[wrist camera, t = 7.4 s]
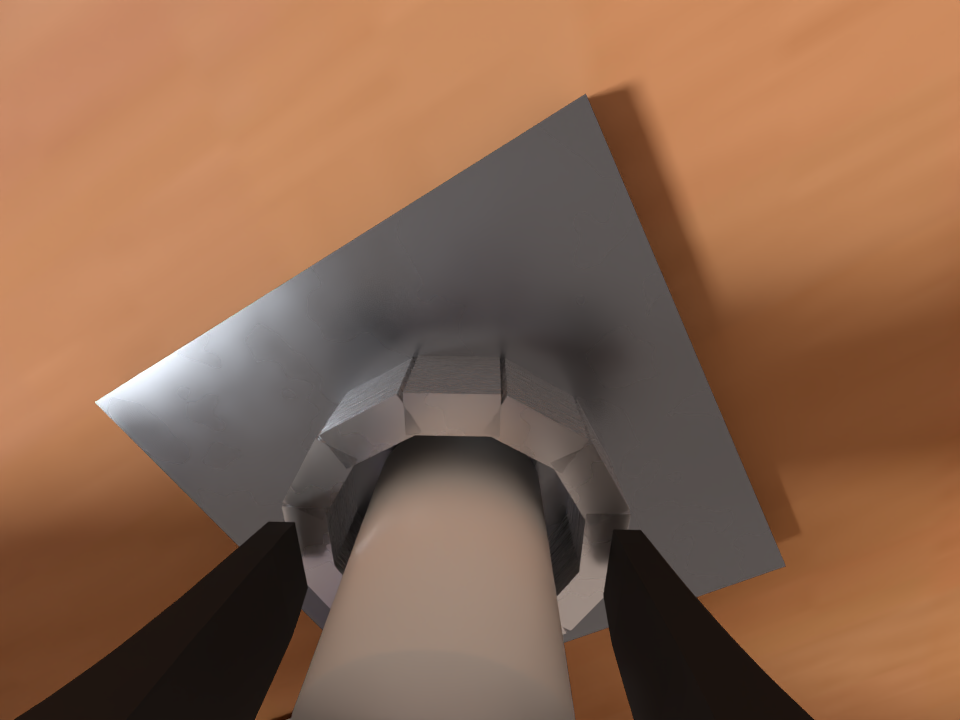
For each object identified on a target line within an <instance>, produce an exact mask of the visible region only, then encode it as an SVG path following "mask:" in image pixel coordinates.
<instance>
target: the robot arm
mask: <svg viewBox="0 0 960 720" xmlns="http://www.w3.org/2000/svg"><path fill="white" fill-rule="evenodd" d="M307 589H308V585H307V580H306V575H305V570H304V565H303V560H302V555H301V550H300V545H299V540H298V535H297V530H296V525H295V522H271V521H269V522H267V523H266V524H265V525H264V526H263V527H261V528H260V529H259V530H258V531H257V532H256V533H254V534H253V535H252V536H251V537H250V538H249V539H248V540H246V541H245V542H244V543H243V544H242V545H241V546H240V547H238V548H237V549H236V550H235V551H234V552H233V553H232V554H231V555H229V556H228V557H227V558H226V559H225V560H224V561H223V562H221V563H220V564H219V565H218V566H217V567H216V568H215V569H213V570H212V571H211V572H210V573H209V574H208V575H206V576H205V577H204V578H203V579H202V580H201V581H199V582H198V583H197V584H196V585H195V586H194V587H192V588H191V589H190V590H189V591H188V592H187V593H185V594H184V595H183V596H182V597H181V598H179V599H178V600H177V601H176V602H174V603H173V604H172V605H171V606H169V607H168V608H167V609H166V610H164V611H163V612H162V613H161V614H159V615H158V616H157V617H156V618H154V619H153V620H152V621H151V622H149V623H148V624H147V625H146V626H144V627H143V628H142V629H141V630H139V631H138V632H137V633H136V634H134V635H133V636H132V637H131V638H129V639H128V640H127V641H126V642H124V643H123V644H122V645H120V646H119V647H118V648H116V649H115V650H114V651H112V652H111V653H110V654H108V655H107V656H106V657H104V658H103V659H102V660H100V661H99V662H98V663H96V664H95V665H93V666H92V667H91V668H89V669H88V670H86V671H85V672H84V673H82V674H81V675H79V676H78V677H77V678H75V679H74V680H72V681H71V682H69V683H68V684H67V685H65V686H64V687H62V688H61V689H60V690H58V691H57V692H55V693H54V694H52V695H51V696H49V697H48V698H46V699H45V700H44V701H42V702H41V703H39V704H37V705H36V706H34V707H33V708H31V709H30V710H28V711H27V712H25V713H24V714H22V715H20V716H19V717H17V718H16V719H14V720H255V718H256V715H257V713H258V711H259V709H260V707H261V704H262V702H263V700H264V698H265V696H266V693H267V691H268V689H269V687H270V685H271V682H272V680H273V678H274V676H275V674H276V671H277V669H278V667H279V665H280V663H281V660H282V658H283V656H284V654H285V651H286V649H287V647H288V645H289V642H290V640H291V638H292V635H293V632H294V629H295V627H296V624H297V621H298V618H299V615H300V612H301V608H302V605H303V602H304V599H305V596H306V592H307ZM603 597H604V603H605V609H606V614H607V620H608V626H609V631H610V636H611V641H612V646H613V649H614V653H615V657H616V660H617V664H618V667H619V670H620V674H621V677H622V681H623V684H624V688H625V691H626V695H627V698H628V701H629V705H630V708H631V712H632V715H633V718H634V720H814V719H813V718H812V717H811V716H810V715H809V714H808V713H807V712H806V711H805V710H803V709H802V708H801V707H800V706H799V705H798V704H797V703H796V702H795V701H794V700H793V699H792V698H791V697H790V696H789V695H788V694H787V693H786V692H785V691H784V690H782V689H781V688H780V687H779V686H778V685H777V684H776V683H775V682H774V681H773V680H772V679H771V678H770V677H769V676H768V675H767V674H766V673H765V672H764V671H763V670H762V669H761V668H760V666H759V665H758V664H757V663H756V662H755V661H754V660H753V659H752V658H751V657H750V656H749V655H748V654H747V653H746V652H745V651H744V650H743V649H742V648H741V647H740V646H739V644H738V643H737V642H736V641H735V640H734V639H733V638H732V637H731V636H730V635H729V634H728V633H727V631H726V630H725V629H724V628H723V627H722V626H721V625H720V624H719V623H718V622H717V620H716V619H715V618H714V617H713V616H712V615H711V614H710V612H709V611H708V610H707V609H706V608H705V607H704V606H703V604H702V603H701V602H700V601H699V600H698V599H697V598H696V596H695V595H694V594H693V593H692V592H691V591H690V589H689V588H688V587H687V586H686V585H685V583H684V582H683V581H682V580H681V579H680V577H679V576H678V575H677V574H676V572H675V571H674V570H673V569H672V568H671V566H670V565H669V564H668V563H667V561H666V560H665V559H664V558H663V556H662V555H661V554H660V553H659V551H658V550H657V549H656V548H655V546H654V545H653V544H652V543H651V541H650V540H649V539H648V538H647V536H646V535H645V534H644V533H643V532H642V531H641V530H622V529H613V534H612V540H611V547H610V554H609V560H608V567H607V573H606V580H605V587H604V593H603ZM287 720H291V718H289V719H287Z"/></svg>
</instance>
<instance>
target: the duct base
mask: <svg viewBox="0 0 960 720" xmlns="http://www.w3.org/2000/svg"><path fill="white" fill-rule="evenodd" d="M95 403H96V404H97V405H98V406H99V407H100V408H101V409H102V410H103V411H104V412H105V413H106V414H107V415H108V416H109V417H110V418H111V419H112V420H113V421H114V422H115V423H116V424H117V425H118V426H119V427H120V428H121V429H122V430H123V431H124V432H125V433H126V434H127V435H128V436H129V437H130V438H131V439H132V440H133V441H134V442H135V443H136V444H137V445H138V446H139V447H140V448H141V449H142V450H143V451H144V452H145V453H146V454H147V455H148V456H149V457H150V458H151V459H152V460H153V461H154V462H155V463H156V464H157V465H158V466H159V467H160V468H161V469H162V470H163V471H164V472H165V473H166V474H167V475H168V476H169V477H170V478H171V479H172V480H173V481H174V482H175V483H176V484H177V485H178V486H179V487H180V488H181V489H182V490H183V491H184V492H185V493H186V494H187V495H188V496H189V497H190V498H191V499H192V500H193V501H194V502H195V503H196V504H197V505H198V506H199V507H200V508H201V509H202V510H203V511H204V512H205V513H206V514H207V515H208V516H209V517H210V518H211V519H212V520H213V521H214V522H215V523H216V524H217V525H218V526H219V527H220V528H221V529H222V530H223V531H224V532H225V533H226V534H227V535H228V536H229V537H230V538H231V539H232V540H233V541H234V542H235V543H236V544H237V545H238V546H239V547H240V546H241V545H242V544H243V543H244V542H245V541H246V540H248V539H249V538H250V537H251V536H252V535H253V534H254V533H256V532H257V531H258V530H259V529H260V528H261V527H263V526H264V525H265V524H266V523H267V522H269V521H271V522H295V525H296V530H297V535H298V540H299V545H300V550H301V555H302V560H303V565H304V570H305V575H306V580H307V585H308V589H307V592H306V596H305V599H304V602H303V605H302V608H301V609H302V610H303V611H304V612H305V613H306V614H307V615H308V616H309V617H310V618H311V619H312V620H313V621H314V622H315V623H316V624H317V625H318V626H319V627H320V628H321V629H322V630H323V628H324V625H325V623H326V620H327V617H328V614H329V612H330V609H331V606H332V604H333V601H334V598H335V595H336V593H337V590H338V587H339V585H340V582H341V579H342V576H343V574H344V571H345V568H346V565H347V563H348V560H349V557H350V555H351V552H352V549H353V546H354V544H355V541H356V538H357V536H358V533H359V530H360V527H361V525H362V522H363V519H364V517H365V514H366V511H367V508H368V506H369V503H370V500H371V498H372V495H373V492H374V489H375V487H376V484H377V481H378V479H379V476H380V473H381V470H382V468H383V466H384V463H385V461H386V459H387V458H388V456H389V455H390V453H391V452H392V451H393V450H394V449H395V447H396V446H398V445H399V444H400V443H401V442H402V441H404V440H406V439H408V438H410V437H412V436H414V435H432V436H488V437H493V438H494V439H496V440H498V441H500V442H502V443H504V444H506V445H508V446H510V447H512V448H514V449H516V450H518V451H520V452H522V453H524V454H526V455H527V456H528V457H529V459H530V460H531V462H532V464H533V465H534V467H535V470H536V472H537V475H538V479H539V483H540V489H541V496H542V503H543V509H544V516H545V522H546V529H547V536H548V542H549V549H550V555H551V562H552V569H553V575H554V582H555V588H556V595H557V601H558V608H559V615H560V621H561V628H562V634H563V641H564V643H565V642H568V641H571V640H574V639H576V638H579V637H582V636H585V635H588V634H591V633H594V632H597V631H600V630H602V629H605V628H608V627H609V626H608V620H607V614H606V609H605V603H604V597H603V593H604V587H605V580H606V573H607V567H608V560H609V554H610V547H611V540H612V534H613V529H622V530H641V531H642V532H643V533H644V534H645V535H646V536H647V538H648V539H649V540H650V541H651V543H652V544H653V545H654V546H655V548H656V549H657V550H658V551H659V553H660V554H661V555H662V556H663V558H664V559H665V560H666V561H667V563H668V564H669V565H670V566H671V568H672V569H673V570H674V571H675V572H676V574H677V575H678V576H679V577H680V579H681V580H682V581H683V582H684V583H685V585H686V586H687V587H688V588H689V589H690V591H691V592H692V593H693V594H694V595H695V596H696V597H698V596H701V595H704V594H707V593H710V592H712V591H715V590H718V589H721V588H724V587H727V586H730V585H733V584H736V583H739V582H741V581H744V580H747V579H750V578H753V577H756V576H759V575H762V574H765V573H767V572H770V571H773V570H776V569H779V568H782V567H785V563H784V561H783V559H782V556H781V554H780V552H779V549H778V547H777V544H776V542H775V540H774V537H773V535H772V533H771V530H770V528H769V526H768V523H767V521H766V518H765V516H764V514H763V511H762V509H761V507H760V504H759V502H758V500H757V497H756V495H755V492H754V490H753V488H752V485H751V483H750V481H749V478H748V476H747V474H746V471H745V469H744V466H743V464H742V462H741V459H740V457H739V455H738V452H737V450H736V448H735V445H734V443H733V441H732V438H731V436H730V433H729V431H728V429H727V426H726V424H725V422H724V419H723V417H722V415H721V412H720V410H719V407H718V405H717V403H716V400H715V398H714V396H713V393H712V391H711V389H710V386H709V384H708V381H707V379H706V377H705V374H704V372H703V370H702V367H701V365H700V363H699V360H698V358H697V355H696V353H695V351H694V348H693V346H692V344H691V341H690V339H689V337H688V334H687V332H686V329H685V327H684V325H683V322H682V320H681V318H680V315H679V313H678V311H677V308H676V306H675V303H674V301H673V299H672V296H671V294H670V292H669V289H668V287H667V285H666V282H665V280H664V277H663V275H662V273H661V270H660V268H659V266H658V263H657V261H656V259H655V256H654V254H653V251H652V249H651V247H650V244H649V242H648V240H647V237H646V235H645V233H644V230H643V228H642V225H641V223H640V221H639V218H638V216H637V214H636V211H635V209H634V207H633V204H632V202H631V199H630V197H629V195H628V192H627V190H626V188H625V185H624V183H623V181H622V178H621V176H620V173H619V171H618V169H617V166H616V164H615V162H614V159H613V157H612V155H611V152H610V150H609V147H608V145H607V143H606V140H605V138H604V136H603V133H602V131H601V129H600V126H599V124H598V121H597V119H596V117H595V114H594V112H593V110H592V107H591V105H590V103H589V100H588V98H587V95H586V94H585V95H583V96H581V97H580V98H578V99H577V100H575V101H573V102H572V103H570V104H569V105H567V106H565V107H564V108H562V109H561V110H559V111H557V112H556V113H554V114H553V115H551V116H550V117H548V118H546V119H545V120H543V121H542V122H540V123H538V124H537V125H535V126H534V127H532V128H530V129H529V130H527V131H526V132H524V133H522V134H521V135H519V136H518V137H516V138H515V139H513V140H511V141H510V142H508V143H507V144H505V145H503V146H502V147H500V148H499V149H497V150H495V151H494V152H492V153H491V154H489V155H487V156H486V157H484V158H483V159H481V160H480V161H478V162H476V163H475V164H473V165H472V166H470V167H468V168H467V169H465V170H464V171H462V172H460V173H459V174H457V175H456V176H454V177H452V178H451V179H449V180H448V181H446V182H444V183H443V184H441V185H440V186H438V187H437V188H435V189H433V190H432V191H430V192H429V193H427V194H425V195H424V196H422V197H421V198H419V199H417V200H416V201H414V202H413V203H411V204H409V205H408V206H406V207H405V208H403V209H402V210H400V211H398V212H397V213H395V214H394V215H392V216H390V217H389V218H387V219H386V220H384V221H382V222H381V223H379V224H378V225H376V226H374V227H373V228H371V229H370V230H368V231H367V232H365V233H363V234H362V235H360V236H359V237H357V238H355V239H354V240H352V241H351V242H349V243H347V244H346V245H344V246H343V247H341V248H339V249H338V250H336V251H335V252H333V253H331V254H330V255H328V256H327V257H325V258H324V259H322V260H320V261H319V262H317V263H316V264H314V265H312V266H311V267H309V268H308V269H306V270H304V271H303V272H301V273H300V274H298V275H296V276H295V277H293V278H292V279H290V280H289V281H287V282H285V283H284V284H282V285H281V286H279V287H277V288H276V289H274V290H273V291H271V292H269V293H268V294H266V295H265V296H263V297H261V298H260V299H258V300H257V301H255V302H254V303H252V304H250V305H249V306H247V307H246V308H244V309H242V310H241V311H239V312H238V313H236V314H234V315H233V316H231V317H230V318H228V319H226V320H225V321H223V322H222V323H220V324H218V325H217V326H215V327H214V328H212V329H211V330H209V331H207V332H206V333H204V334H203V335H201V336H199V337H198V338H196V339H195V340H193V341H191V342H190V343H188V344H187V345H185V346H183V347H182V348H180V349H179V350H177V351H176V352H174V353H172V354H171V355H169V356H168V357H166V358H164V359H163V360H161V361H160V362H158V363H156V364H155V365H153V366H152V367H150V368H148V369H147V370H145V371H144V372H142V373H141V374H139V375H137V376H136V377H134V378H133V379H131V380H129V381H128V382H126V383H125V384H123V385H121V386H120V387H118V388H117V389H115V390H113V391H112V392H110V393H109V394H107V395H105V396H104V397H102V398H101V399H99V400H98V401H96V402H95Z"/></svg>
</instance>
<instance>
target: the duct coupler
mask: <svg viewBox="0 0 960 720" xmlns="http://www.w3.org/2000/svg"><path fill="white" fill-rule="evenodd" d="M291 720H575V714H574V707H573V700H572V694H571V687H570V681H569V674H568V667H567V661H566V654H565V648H564V641H563V634H562V628H561V621H560V615H559V608H558V601H557V595H556V588H555V582H554V575H553V569H552V562H551V555H550V549H549V542H548V536H547V529H546V522H545V516H544V509H543V503H542V496H541V489H540V483H539V479H538V475H537V472H536V470H535V467H534V465H533V464H532V462H531V460H530V459H529V457H528V456H527V455H526V454H524V453H522V452H520V451H518V450H516V449H514V448H512V447H510V446H508V445H506V444H504V443H502V442H500V441H498V440H496V439H494V438H493V437H488V436H432V435H414V436H412V437H410V438H408V439H406V440H404V441H402V442H401V443H400V444H399V445H398V446H396V447H395V449H394V450H393V451H392V452H391V453H390V455H389V456H388V458H387V459H386V461H385V463H384V466H383V468H382V470H381V473H380V476H379V479H378V481H377V484H376V487H375V489H374V492H373V495H372V498H371V500H370V503H369V506H368V508H367V511H366V514H365V517H364V519H363V522H362V525H361V527H360V530H359V533H358V536H357V538H356V541H355V544H354V546H353V549H352V552H351V555H350V557H349V560H348V563H347V565H346V568H345V571H344V574H343V576H342V579H341V582H340V585H339V587H338V590H337V593H336V595H335V598H334V601H333V604H332V606H331V609H330V612H329V614H328V617H327V620H326V623H325V625H324V628H323V631H322V633H321V636H320V639H319V642H318V644H317V647H316V650H315V652H314V655H313V658H312V661H311V663H310V666H309V669H308V671H307V674H306V677H305V680H304V682H303V685H302V688H301V691H300V693H299V696H298V699H297V701H296V704H295V707H294V710H293V712H292V717H291Z"/></svg>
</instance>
